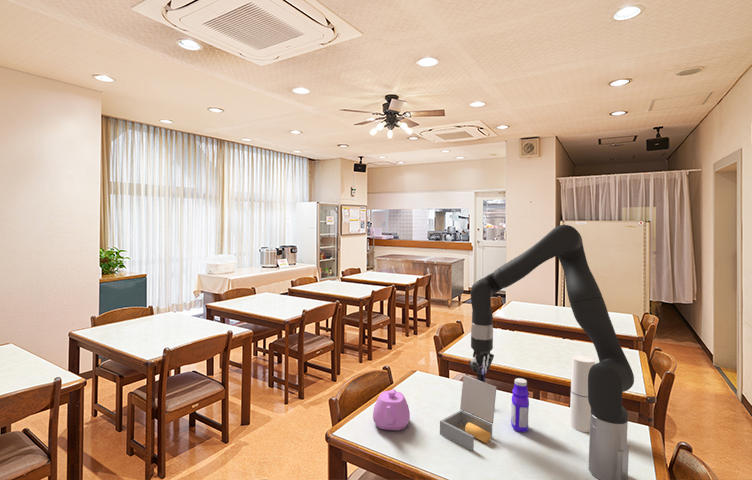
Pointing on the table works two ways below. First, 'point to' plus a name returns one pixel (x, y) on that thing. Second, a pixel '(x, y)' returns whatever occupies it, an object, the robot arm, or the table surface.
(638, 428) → the table surface
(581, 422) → the cylindrical container
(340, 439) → the table surface
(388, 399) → the teapot
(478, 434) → the orange cylinder
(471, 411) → the cover
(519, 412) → the bottle
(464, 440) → the hinged gray case
